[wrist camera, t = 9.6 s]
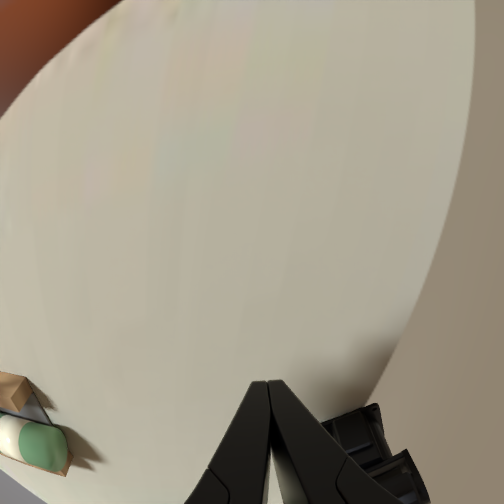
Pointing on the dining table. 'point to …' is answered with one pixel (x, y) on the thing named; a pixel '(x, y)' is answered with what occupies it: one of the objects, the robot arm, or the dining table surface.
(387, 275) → the dining table surface
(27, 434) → the bottle
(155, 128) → the dining table surface
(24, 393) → the cradle
